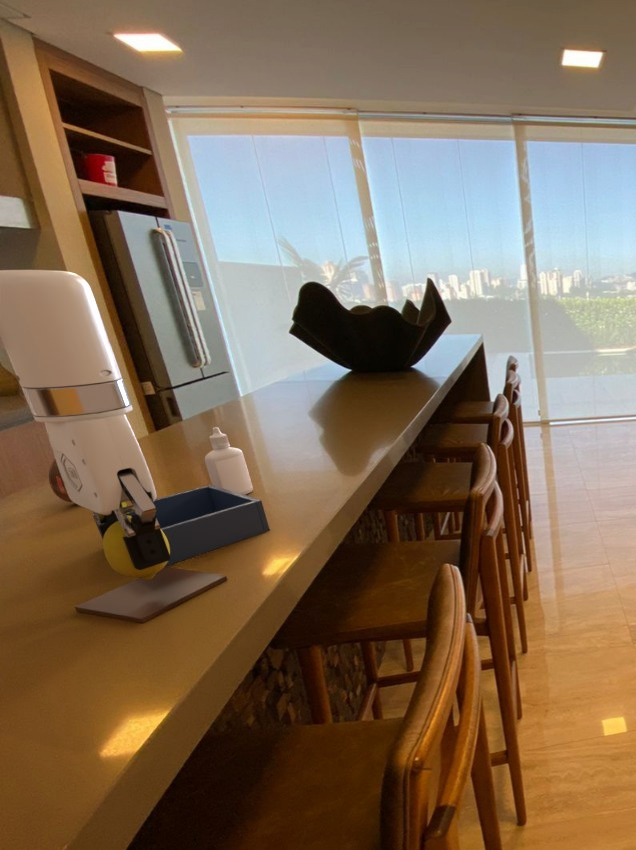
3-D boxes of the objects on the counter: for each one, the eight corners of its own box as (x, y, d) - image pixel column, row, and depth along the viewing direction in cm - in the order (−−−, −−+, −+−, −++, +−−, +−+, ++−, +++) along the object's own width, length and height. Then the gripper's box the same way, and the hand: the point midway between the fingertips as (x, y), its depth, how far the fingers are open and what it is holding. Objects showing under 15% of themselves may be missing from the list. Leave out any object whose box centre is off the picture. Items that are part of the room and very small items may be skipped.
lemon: (169, 564, 69) (147, 503, 66) (186, 576, 66) (164, 513, 63) (111, 582, 65) (85, 518, 62) (126, 596, 62) (100, 530, 59)
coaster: (142, 623, 61) (140, 618, 60) (76, 611, 63) (74, 606, 63) (227, 579, 70) (226, 575, 69) (166, 570, 72) (164, 566, 72)
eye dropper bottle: (257, 494, 99) (237, 426, 94) (218, 502, 95) (196, 432, 91) (251, 488, 102) (232, 422, 97) (214, 496, 98) (192, 428, 94)
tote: (153, 570, 72) (140, 536, 70) (105, 547, 79) (92, 515, 77) (270, 530, 84) (261, 500, 82) (219, 512, 91) (210, 484, 89)
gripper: (1, 399, 59) (68, 555, 66) (64, 415, 51) (134, 591, 58) (93, 388, 65) (146, 532, 72) (163, 401, 57) (215, 562, 64)
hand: (140, 557), depth 64 cm, fingers closed on lemon, 5 cm apart
